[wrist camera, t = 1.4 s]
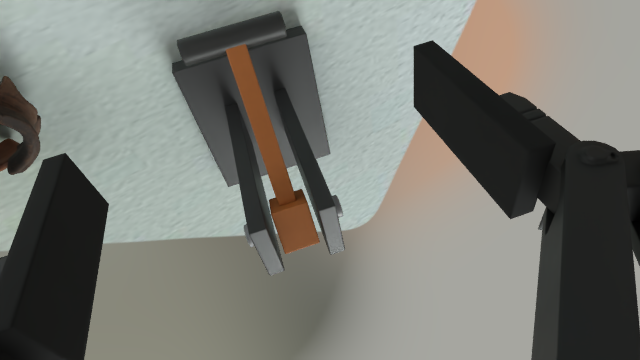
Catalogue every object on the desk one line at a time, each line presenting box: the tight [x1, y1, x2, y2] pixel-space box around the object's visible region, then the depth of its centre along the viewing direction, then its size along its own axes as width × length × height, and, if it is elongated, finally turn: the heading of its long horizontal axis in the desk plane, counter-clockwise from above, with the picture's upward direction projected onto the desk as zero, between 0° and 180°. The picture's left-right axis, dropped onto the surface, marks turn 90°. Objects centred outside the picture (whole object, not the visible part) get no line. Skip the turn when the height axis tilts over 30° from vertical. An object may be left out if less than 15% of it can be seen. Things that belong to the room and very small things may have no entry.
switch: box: [177, 11, 320, 254], centre depth 22 cm, size 13×6×2 cm, turn 11°
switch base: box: [172, 26, 345, 275], centre depth 28 cm, size 12×10×15 cm
